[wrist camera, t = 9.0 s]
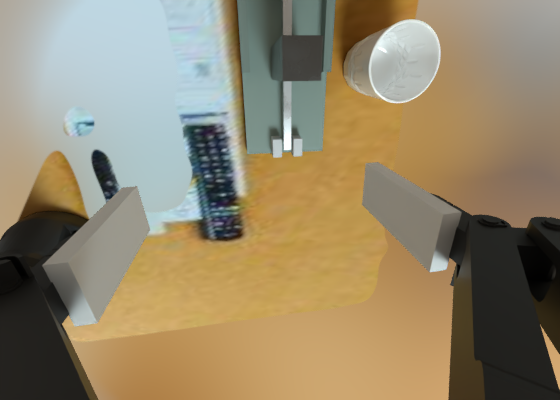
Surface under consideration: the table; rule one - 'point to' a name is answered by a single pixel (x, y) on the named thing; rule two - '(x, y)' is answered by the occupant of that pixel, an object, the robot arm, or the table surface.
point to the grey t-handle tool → (294, 63)
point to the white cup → (394, 62)
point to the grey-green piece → (269, 93)
